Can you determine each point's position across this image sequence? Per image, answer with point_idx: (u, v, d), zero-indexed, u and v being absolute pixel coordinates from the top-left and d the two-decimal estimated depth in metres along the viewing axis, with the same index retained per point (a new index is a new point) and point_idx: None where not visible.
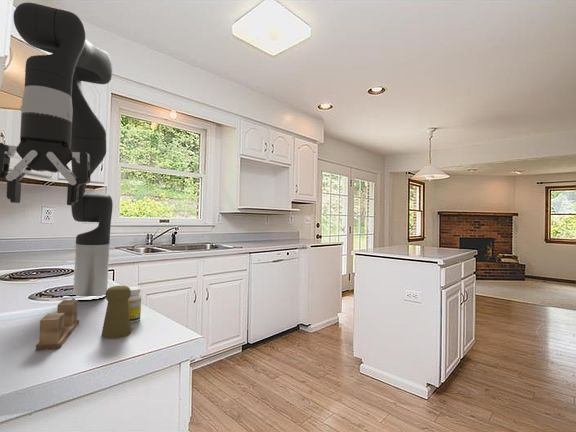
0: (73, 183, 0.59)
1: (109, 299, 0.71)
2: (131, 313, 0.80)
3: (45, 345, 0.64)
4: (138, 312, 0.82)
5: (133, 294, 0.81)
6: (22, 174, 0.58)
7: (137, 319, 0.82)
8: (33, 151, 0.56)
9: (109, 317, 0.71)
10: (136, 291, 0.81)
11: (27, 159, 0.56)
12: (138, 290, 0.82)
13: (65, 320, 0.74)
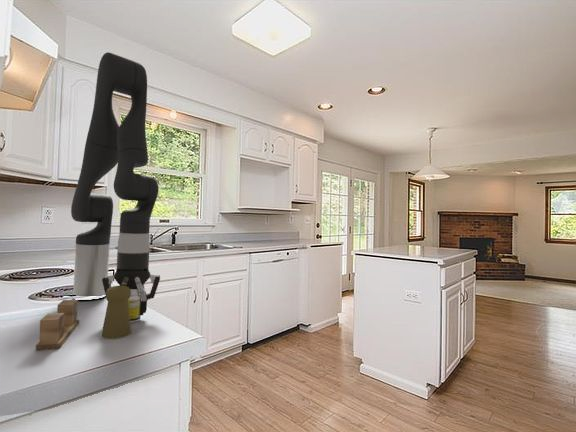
0: (144, 300, 0.82)
1: (109, 299, 0.71)
2: (131, 313, 0.80)
3: (45, 345, 0.64)
4: (138, 312, 0.82)
5: (133, 294, 0.81)
6: None
7: (137, 319, 0.82)
8: (125, 278, 0.80)
9: (109, 317, 0.71)
10: (136, 291, 0.81)
11: (123, 284, 0.80)
12: None
13: (65, 320, 0.74)
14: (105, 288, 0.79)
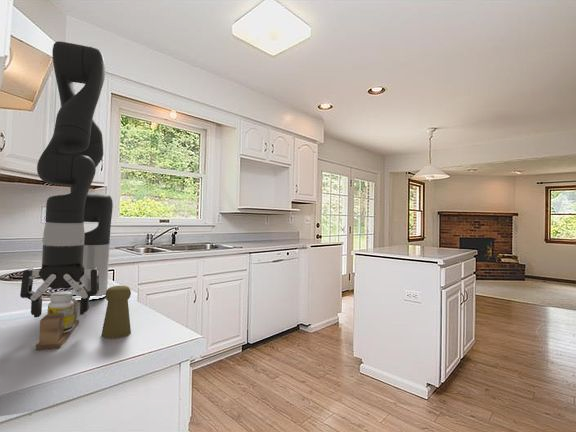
0: (85, 297, 0.71)
1: (109, 299, 0.71)
2: None
3: (45, 345, 0.64)
4: (68, 321, 0.70)
5: (62, 300, 0.69)
6: None
7: (67, 330, 0.70)
8: (52, 275, 0.68)
9: (109, 317, 0.71)
10: (66, 297, 0.70)
11: (48, 282, 0.68)
12: (69, 296, 0.70)
13: None
14: (23, 282, 0.67)
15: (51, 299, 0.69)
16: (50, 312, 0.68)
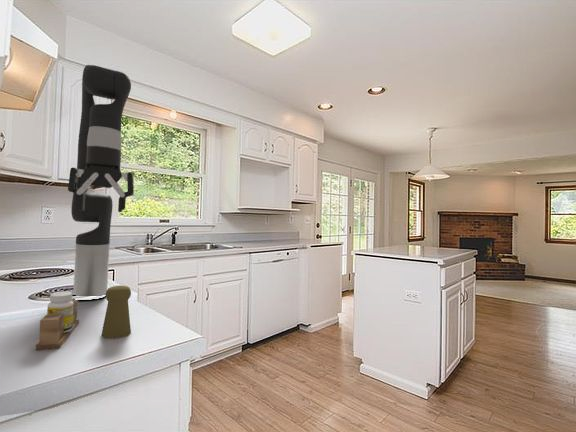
0: (122, 196, 0.81)
1: (109, 299, 0.71)
2: None
3: (45, 345, 0.64)
4: (68, 321, 0.70)
5: (61, 300, 0.69)
6: (86, 189, 0.80)
7: (67, 330, 0.70)
8: (95, 173, 0.78)
9: (109, 317, 0.71)
10: (65, 297, 0.70)
11: (91, 179, 0.78)
12: (68, 296, 0.70)
13: None
14: (70, 178, 0.77)
15: (51, 299, 0.69)
16: (49, 312, 0.68)
